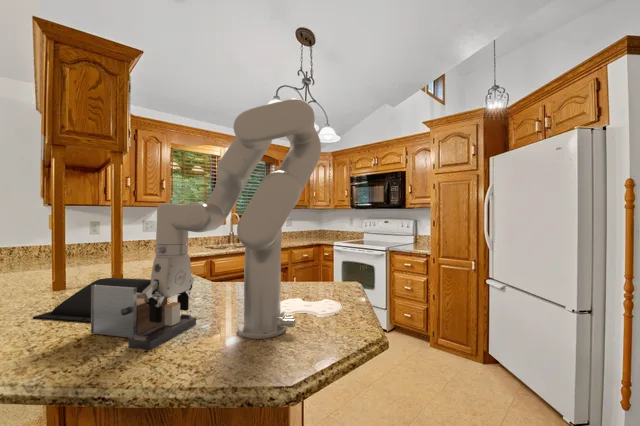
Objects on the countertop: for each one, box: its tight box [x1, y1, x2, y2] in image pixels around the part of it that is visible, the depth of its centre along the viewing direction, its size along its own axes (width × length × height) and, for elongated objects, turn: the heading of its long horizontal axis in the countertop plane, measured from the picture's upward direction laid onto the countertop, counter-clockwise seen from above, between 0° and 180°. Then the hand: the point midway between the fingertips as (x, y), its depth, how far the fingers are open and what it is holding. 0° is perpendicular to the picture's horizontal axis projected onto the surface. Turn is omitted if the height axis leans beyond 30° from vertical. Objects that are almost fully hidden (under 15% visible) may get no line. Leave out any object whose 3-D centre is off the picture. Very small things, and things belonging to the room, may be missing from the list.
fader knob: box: [165, 301, 181, 326], centre depth 77 cm, size 2×3×5 cm
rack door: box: [90, 285, 137, 339], centre depth 73 cm, size 13×2×12 cm, turn 77°
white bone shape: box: [281, 297, 342, 317], centre depth 97 cm, size 20×2×25 cm
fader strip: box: [127, 313, 197, 351], centre depth 75 cm, size 6×16×3 cm, turn 167°
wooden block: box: [136, 293, 168, 335], centre depth 79 cm, size 13×10×8 cm
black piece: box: [32, 277, 169, 324], centre depth 99 cm, size 24×8×30 cm
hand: (169, 315), depth 77 cm, fingers open, 9 cm apart
